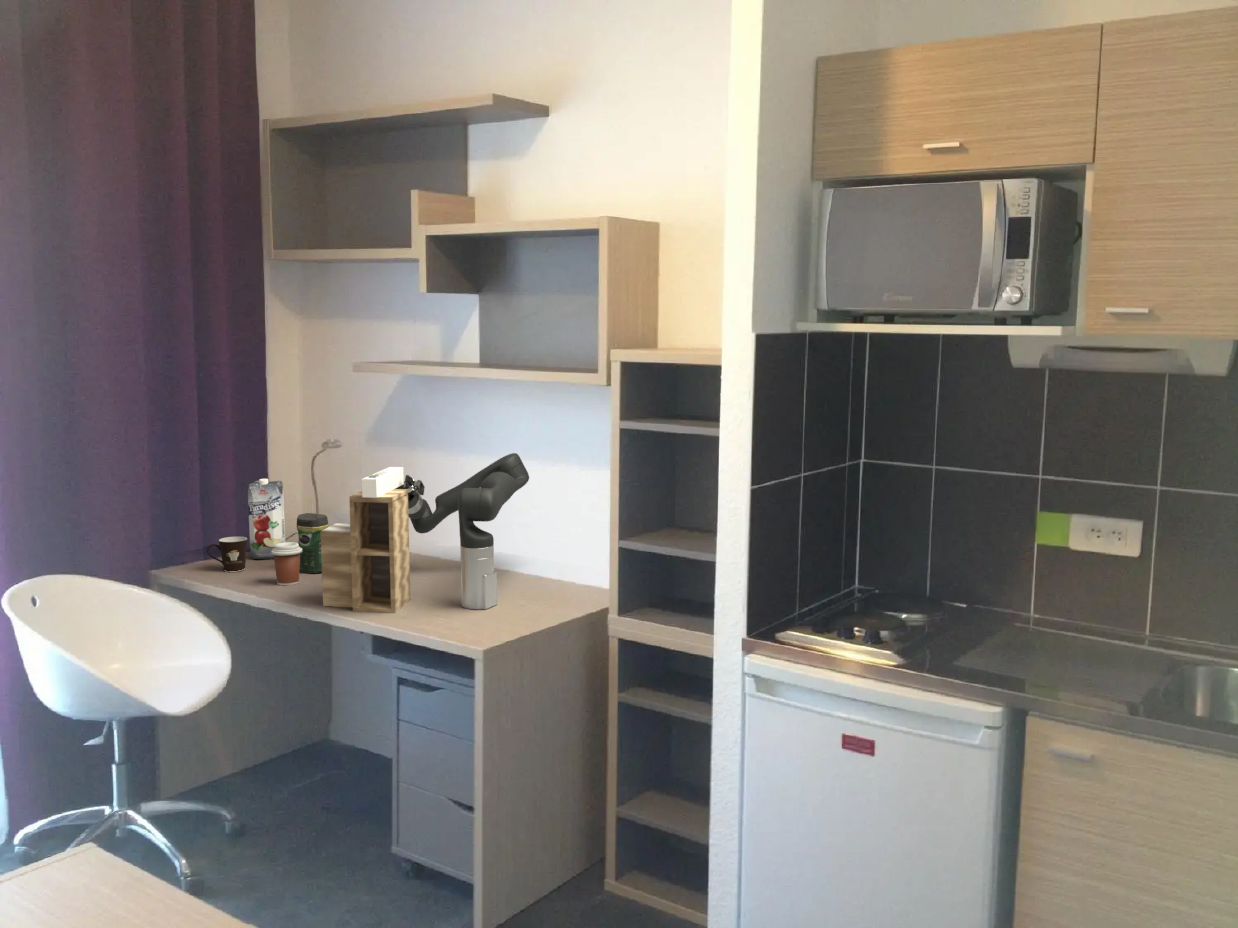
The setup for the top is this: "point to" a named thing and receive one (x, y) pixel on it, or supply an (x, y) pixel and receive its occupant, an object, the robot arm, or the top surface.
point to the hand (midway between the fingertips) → (392, 477)
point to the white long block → (382, 482)
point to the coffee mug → (232, 552)
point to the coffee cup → (287, 562)
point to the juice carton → (265, 517)
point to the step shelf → (368, 555)
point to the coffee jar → (311, 541)
